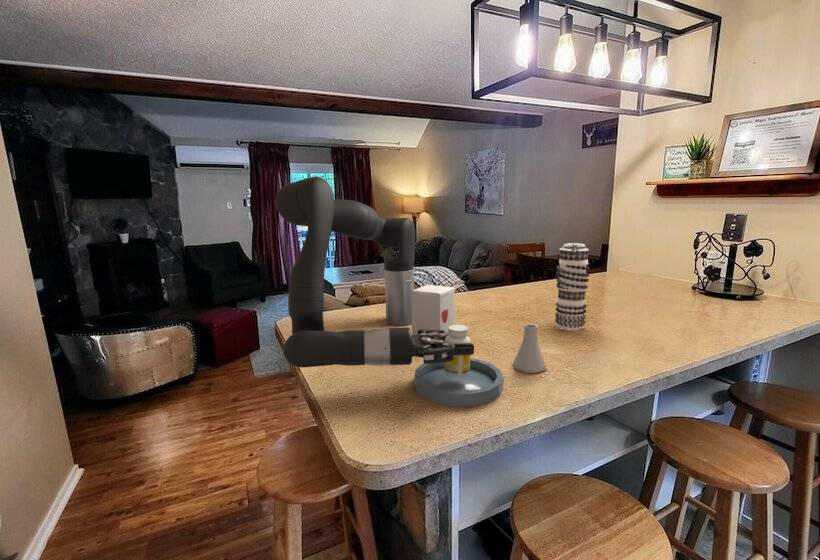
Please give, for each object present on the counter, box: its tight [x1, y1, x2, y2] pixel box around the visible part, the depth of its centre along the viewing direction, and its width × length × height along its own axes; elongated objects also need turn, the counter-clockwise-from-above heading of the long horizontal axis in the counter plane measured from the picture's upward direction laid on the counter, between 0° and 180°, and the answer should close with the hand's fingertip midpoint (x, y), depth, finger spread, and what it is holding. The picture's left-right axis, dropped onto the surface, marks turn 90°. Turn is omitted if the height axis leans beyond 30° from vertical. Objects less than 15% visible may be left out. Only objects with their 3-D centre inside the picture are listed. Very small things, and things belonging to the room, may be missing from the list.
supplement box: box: [411, 284, 456, 338], centre depth 109 cm, size 9×9×15 cm
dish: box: [414, 357, 504, 408], centre depth 83 cm, size 18×18×3 cm
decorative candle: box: [554, 242, 591, 331], centre depth 118 cm, size 9×9×25 cm
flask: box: [512, 323, 547, 374], centre depth 91 cm, size 7×7×10 cm
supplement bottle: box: [444, 324, 472, 377], centre depth 82 cm, size 5×5×10 cm
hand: (469, 343), depth 82 cm, fingers closed on supplement bottle, 5 cm apart
